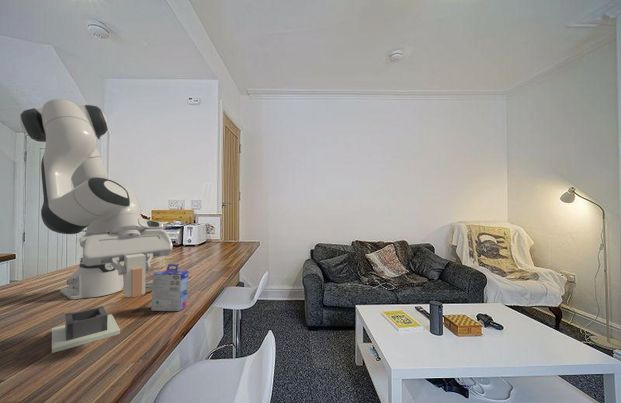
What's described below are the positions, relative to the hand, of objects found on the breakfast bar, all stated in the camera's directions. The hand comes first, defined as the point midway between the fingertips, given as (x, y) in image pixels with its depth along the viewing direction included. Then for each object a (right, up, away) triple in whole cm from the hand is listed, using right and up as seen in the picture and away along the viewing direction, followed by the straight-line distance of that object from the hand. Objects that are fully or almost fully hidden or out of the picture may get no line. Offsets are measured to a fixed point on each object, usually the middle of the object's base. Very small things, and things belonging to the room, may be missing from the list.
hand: (135, 271), depth 67 cm
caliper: (-14, -18, +38) cm, 45 cm away
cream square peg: (0, -6, 0) cm, 6 cm away
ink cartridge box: (-1, -18, +19) cm, 26 cm away
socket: (-15, -17, +2) cm, 23 cm away
